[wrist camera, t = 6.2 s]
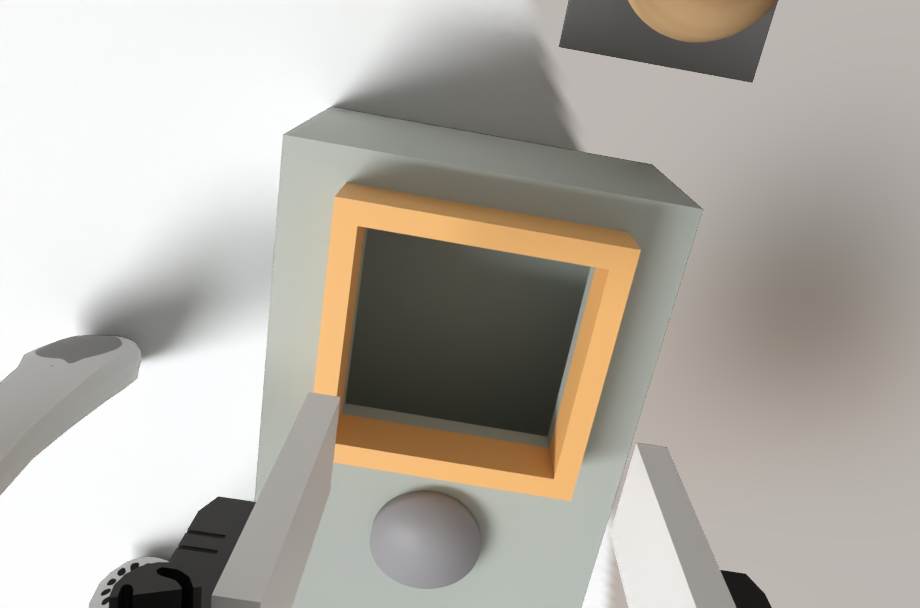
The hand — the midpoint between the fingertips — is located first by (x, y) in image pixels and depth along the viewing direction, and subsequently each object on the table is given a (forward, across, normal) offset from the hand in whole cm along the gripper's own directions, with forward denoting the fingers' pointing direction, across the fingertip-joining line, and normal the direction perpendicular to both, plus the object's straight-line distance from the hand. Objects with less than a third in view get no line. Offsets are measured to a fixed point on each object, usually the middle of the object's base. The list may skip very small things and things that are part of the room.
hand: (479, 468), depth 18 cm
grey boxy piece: (+17, -1, -4) cm, 17 cm away
